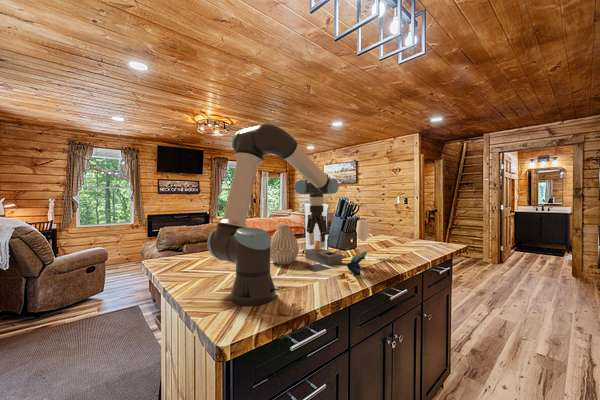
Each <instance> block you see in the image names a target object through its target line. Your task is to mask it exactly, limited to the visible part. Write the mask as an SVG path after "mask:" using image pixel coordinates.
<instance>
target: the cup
mask: <svg viewBox="0 0 600 400" xmlns="http://www.w3.org/2000/svg"><path fill="white" fill-rule="evenodd" d="M370 231H371V230H370V220H369V219H368V220H367V219H359V220H357V222H356V233H357V237H358V239H359V240H360V241H361V242H365V241H367V239H369V236H370Z"/></svg>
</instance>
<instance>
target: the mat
mask: <svg viewBox="0 0 600 400" xmlns="http://www.w3.org/2000/svg"><path fill="white" fill-rule="evenodd" d="M302 268H304V269H306V270H309V271H311V272H313V273H315V272H316V273H317V272H321V271H326V270H331V269H332V268H331V267H330V266H327V265H324V264H321V263H316V264H311V265H305V266H304V265H303V266H302Z"/></svg>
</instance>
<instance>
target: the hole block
mask: <svg viewBox="0 0 600 400" xmlns="http://www.w3.org/2000/svg"><path fill="white" fill-rule="evenodd" d="M305 259H307V260H310V261H313V262H316V263H317V264H320V265H323V266H326V267H331V266H335V265H340V264H341V265H342V264H343V254H342V253H340V252H339V253H338V252H335V251H332V250H328V249H325V248H320V251H314V248H308V249H305Z"/></svg>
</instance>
